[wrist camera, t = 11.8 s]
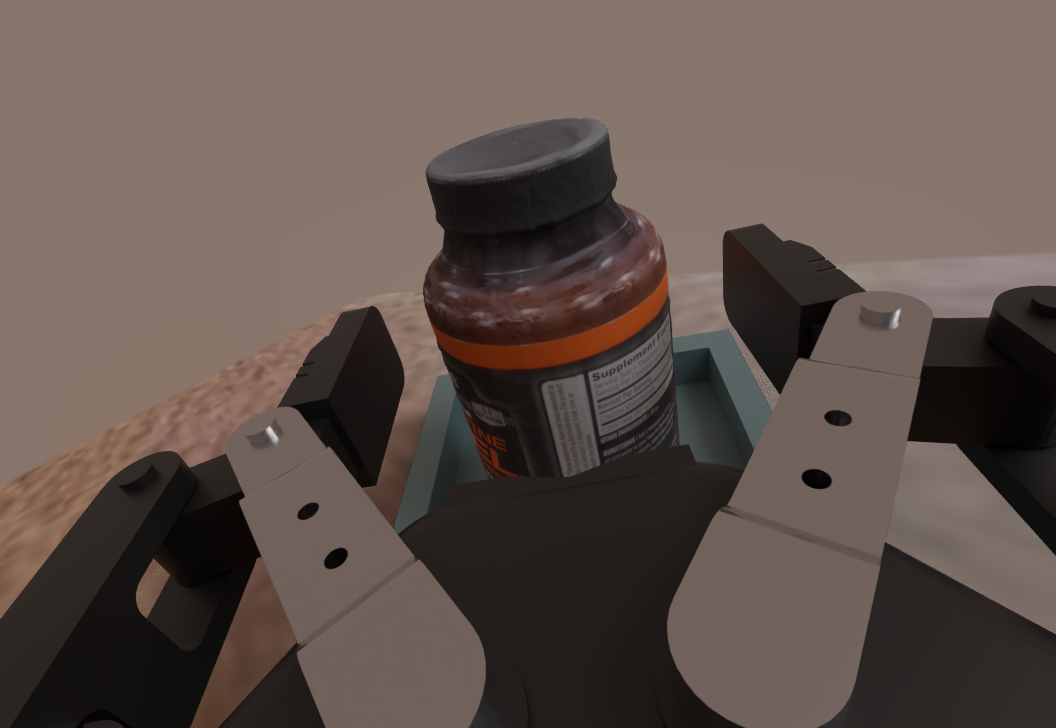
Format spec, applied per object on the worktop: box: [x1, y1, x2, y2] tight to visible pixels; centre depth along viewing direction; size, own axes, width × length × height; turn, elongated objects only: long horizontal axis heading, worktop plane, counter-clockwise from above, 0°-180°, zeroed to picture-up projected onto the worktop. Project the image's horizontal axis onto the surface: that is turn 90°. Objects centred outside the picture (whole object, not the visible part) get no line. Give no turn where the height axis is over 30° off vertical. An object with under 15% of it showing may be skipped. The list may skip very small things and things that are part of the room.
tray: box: [393, 329, 772, 534], centre depth 17 cm, size 12×12×2 cm
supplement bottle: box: [423, 118, 680, 479], centre depth 14 cm, size 6×6×11 cm
